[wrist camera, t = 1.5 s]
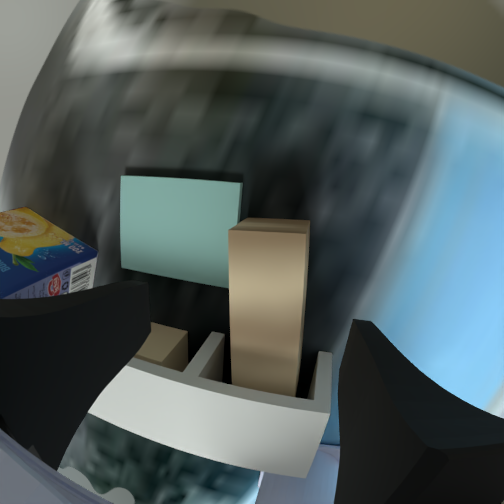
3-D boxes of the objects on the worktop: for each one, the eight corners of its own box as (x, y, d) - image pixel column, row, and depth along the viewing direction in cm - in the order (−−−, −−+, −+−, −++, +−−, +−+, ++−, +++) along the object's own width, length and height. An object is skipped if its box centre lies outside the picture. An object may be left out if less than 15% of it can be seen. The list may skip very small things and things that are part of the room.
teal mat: (234, 285, 22) (232, 289, 21) (125, 265, 23) (121, 267, 23) (242, 183, 20) (240, 183, 19) (125, 175, 22) (120, 175, 21)
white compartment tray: (313, 418, 23) (305, 478, 17) (123, 370, 27) (84, 410, 21) (332, 352, 21) (330, 413, 15) (114, 306, 25) (65, 341, 19)
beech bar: (299, 376, 23) (292, 415, 19) (248, 370, 24) (232, 407, 19) (310, 219, 20) (306, 233, 15) (248, 217, 21) (228, 230, 16)
